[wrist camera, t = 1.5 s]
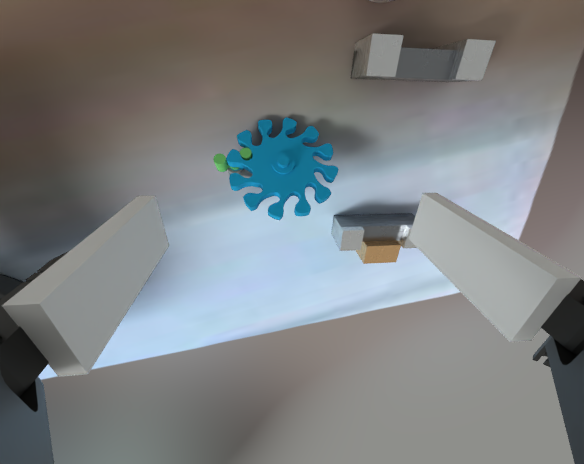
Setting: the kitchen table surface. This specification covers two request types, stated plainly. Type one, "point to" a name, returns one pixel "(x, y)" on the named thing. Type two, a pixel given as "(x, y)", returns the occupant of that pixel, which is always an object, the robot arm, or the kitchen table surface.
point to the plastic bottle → (381, 1)
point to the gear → (279, 167)
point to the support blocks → (413, 67)
